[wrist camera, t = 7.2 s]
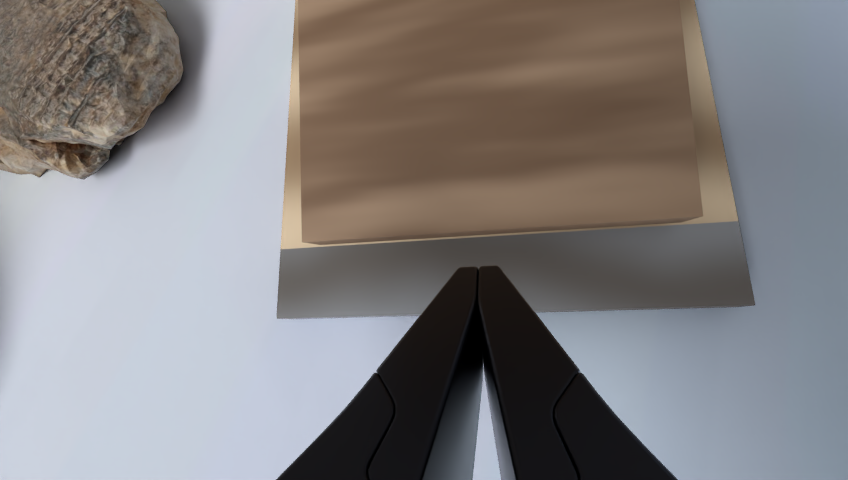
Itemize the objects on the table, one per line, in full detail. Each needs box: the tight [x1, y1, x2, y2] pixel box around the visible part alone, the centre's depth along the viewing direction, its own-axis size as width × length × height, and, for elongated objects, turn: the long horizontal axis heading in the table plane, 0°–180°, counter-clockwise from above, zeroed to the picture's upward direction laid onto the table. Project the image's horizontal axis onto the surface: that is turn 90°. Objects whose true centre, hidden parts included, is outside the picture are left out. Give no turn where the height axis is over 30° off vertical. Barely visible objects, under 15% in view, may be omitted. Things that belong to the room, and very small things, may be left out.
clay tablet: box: [0, 0, 183, 179], centre depth 22 cm, size 14×5×20 cm
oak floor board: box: [277, 0, 755, 319], centre depth 19 cm, size 25×18×1 cm
